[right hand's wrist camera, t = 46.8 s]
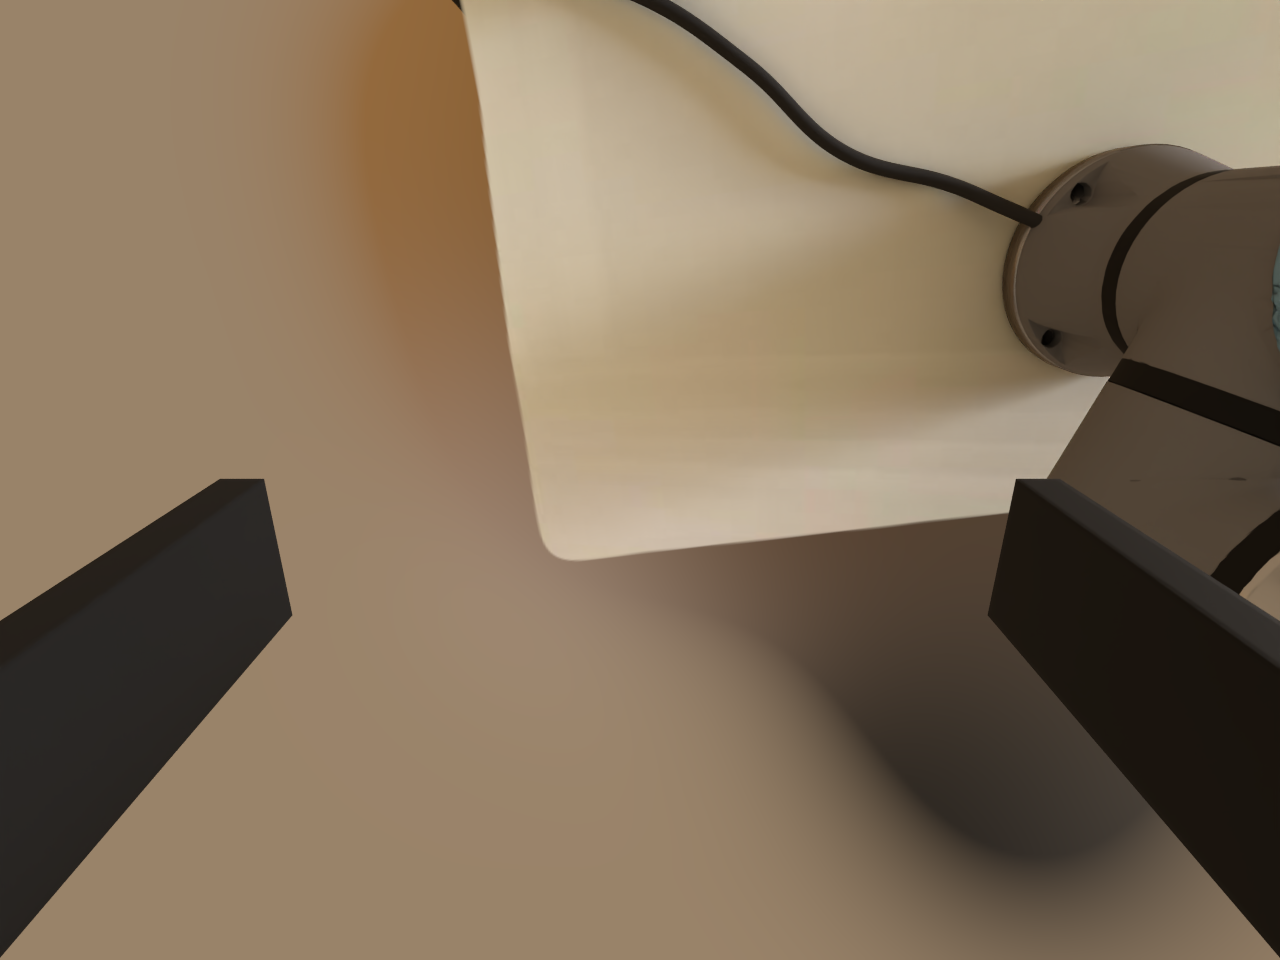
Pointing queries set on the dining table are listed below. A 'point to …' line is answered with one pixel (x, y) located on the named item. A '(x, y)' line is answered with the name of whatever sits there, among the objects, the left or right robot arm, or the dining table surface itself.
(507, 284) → the dining table surface
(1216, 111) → the dining table surface
